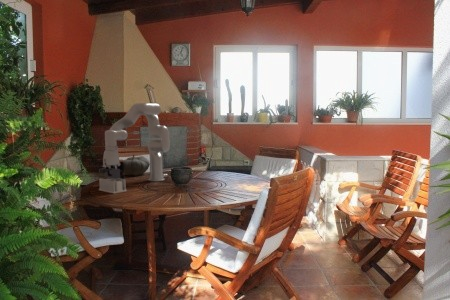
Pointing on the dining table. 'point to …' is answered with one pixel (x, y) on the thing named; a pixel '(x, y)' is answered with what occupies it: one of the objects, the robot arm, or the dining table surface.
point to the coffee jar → (121, 169)
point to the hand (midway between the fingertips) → (112, 175)
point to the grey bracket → (114, 173)
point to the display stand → (112, 185)
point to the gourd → (135, 165)
